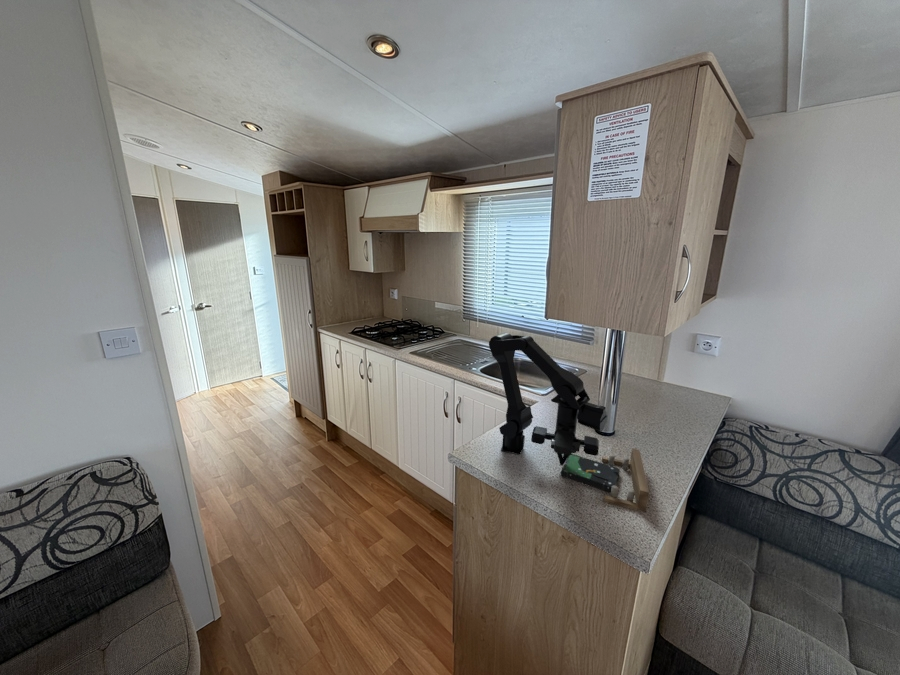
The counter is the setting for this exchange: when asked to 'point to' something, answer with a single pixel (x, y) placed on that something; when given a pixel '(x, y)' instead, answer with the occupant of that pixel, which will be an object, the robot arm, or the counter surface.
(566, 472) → the disk drive
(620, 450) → the counter surface
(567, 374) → the robot arm
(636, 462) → the drive tray
